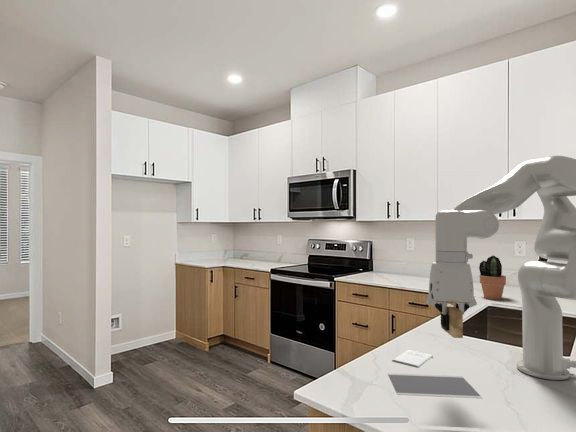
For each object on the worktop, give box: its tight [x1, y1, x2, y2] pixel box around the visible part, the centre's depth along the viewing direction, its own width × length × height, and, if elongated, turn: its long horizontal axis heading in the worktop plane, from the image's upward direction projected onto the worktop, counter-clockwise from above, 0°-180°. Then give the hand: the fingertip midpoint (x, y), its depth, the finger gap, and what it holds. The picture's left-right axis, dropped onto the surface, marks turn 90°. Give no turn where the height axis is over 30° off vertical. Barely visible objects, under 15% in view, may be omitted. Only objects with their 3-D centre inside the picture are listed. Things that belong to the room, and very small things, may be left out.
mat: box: [387, 372, 483, 399], centre depth 96 cm, size 20×13×1 cm, turn 85°
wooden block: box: [440, 303, 464, 339], centre depth 96 cm, size 2×9×6 cm, turn 176°
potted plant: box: [478, 255, 507, 301], centre depth 216 cm, size 14×14×25 cm
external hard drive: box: [391, 349, 434, 368], centre depth 115 cm, size 2×8×12 cm
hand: (451, 328), depth 96 cm, fingers closed on wooden block, 2 cm apart
